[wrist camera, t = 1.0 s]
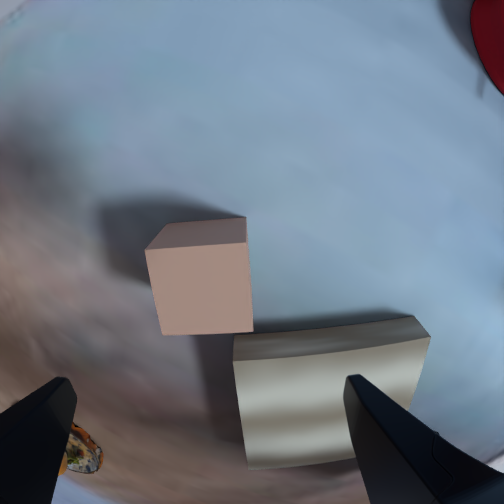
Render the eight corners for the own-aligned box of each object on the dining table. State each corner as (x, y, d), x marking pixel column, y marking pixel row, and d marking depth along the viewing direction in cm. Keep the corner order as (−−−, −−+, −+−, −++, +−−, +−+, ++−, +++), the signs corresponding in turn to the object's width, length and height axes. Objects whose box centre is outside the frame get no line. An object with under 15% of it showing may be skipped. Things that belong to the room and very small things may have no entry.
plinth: (384, 428, 27) (392, 449, 24) (248, 446, 27) (248, 469, 25) (414, 315, 23) (430, 336, 20) (234, 335, 23) (232, 361, 20)
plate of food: (8, 414, 28) (-15, 452, 21) (43, 391, 26) (14, 440, 19) (75, 469, 31) (60, 508, 24) (123, 457, 29) (108, 507, 22)
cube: (251, 289, 22) (253, 331, 17) (178, 294, 22) (162, 335, 17) (246, 216, 20) (246, 242, 15) (167, 223, 20) (144, 249, 15)
